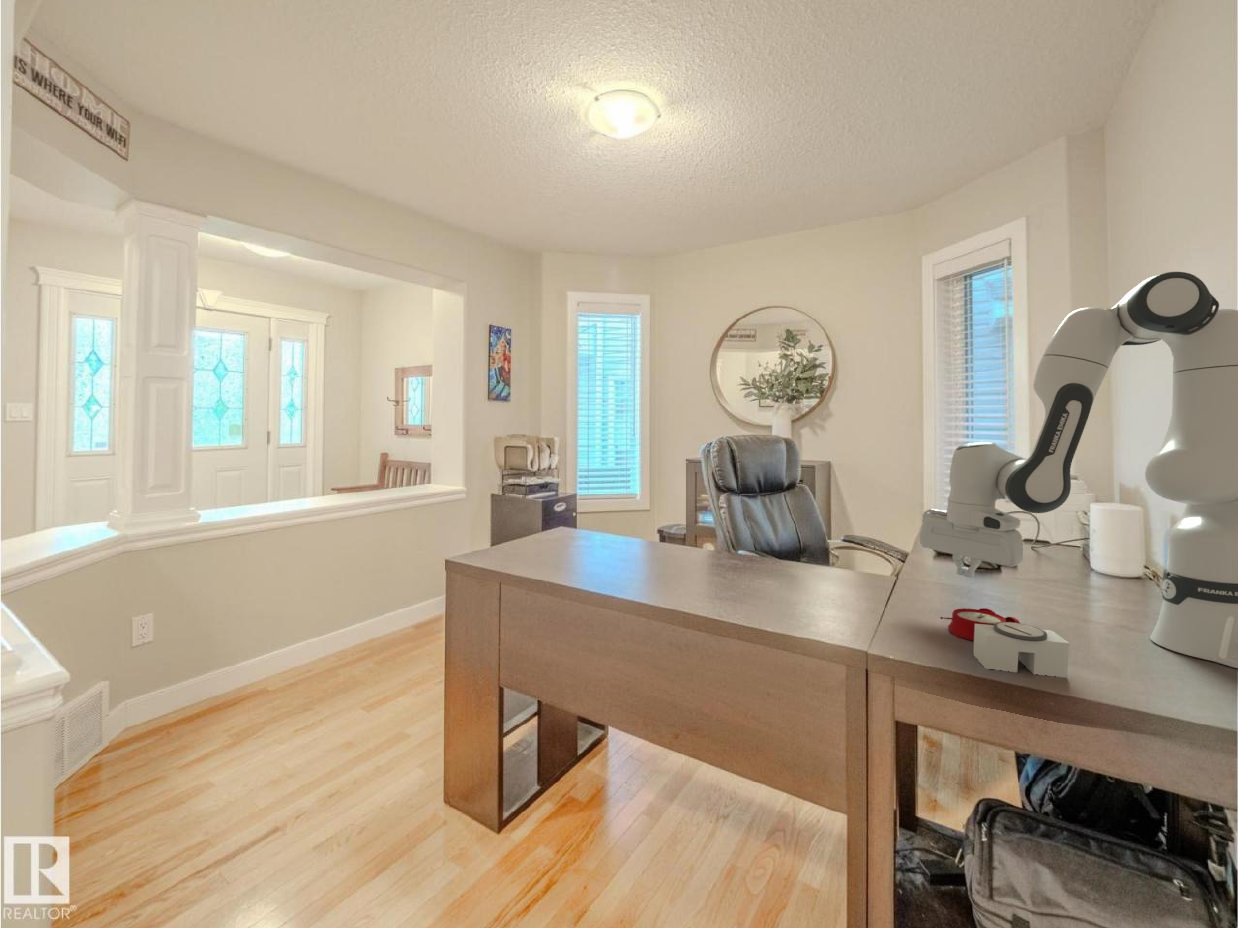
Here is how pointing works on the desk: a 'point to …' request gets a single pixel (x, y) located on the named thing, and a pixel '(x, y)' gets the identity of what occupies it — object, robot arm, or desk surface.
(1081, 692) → the desk surface
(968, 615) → the alarm clock
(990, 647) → the dial gauge
